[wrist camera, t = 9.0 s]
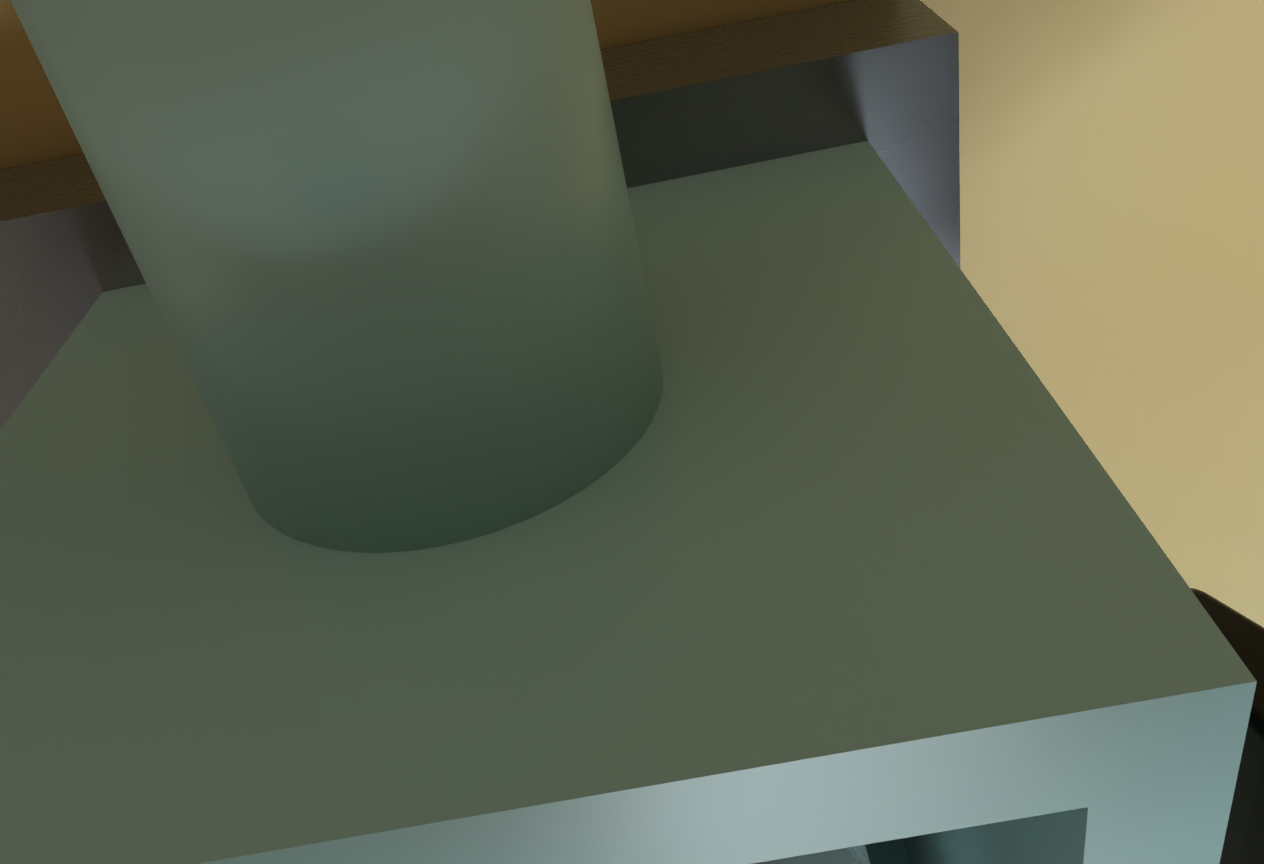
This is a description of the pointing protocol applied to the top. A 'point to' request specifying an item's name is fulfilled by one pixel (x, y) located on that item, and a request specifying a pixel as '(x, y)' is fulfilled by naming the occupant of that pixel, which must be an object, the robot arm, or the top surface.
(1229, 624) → the robot arm
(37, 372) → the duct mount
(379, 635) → the duct collar
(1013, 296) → the top surface
